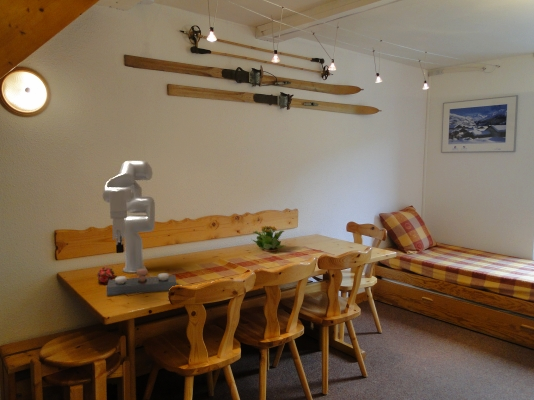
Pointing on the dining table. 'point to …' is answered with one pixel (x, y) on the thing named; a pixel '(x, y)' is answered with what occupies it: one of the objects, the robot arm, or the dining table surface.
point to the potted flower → (269, 239)
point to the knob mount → (140, 285)
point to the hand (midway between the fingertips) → (120, 252)
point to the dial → (142, 274)
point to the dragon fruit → (105, 275)
